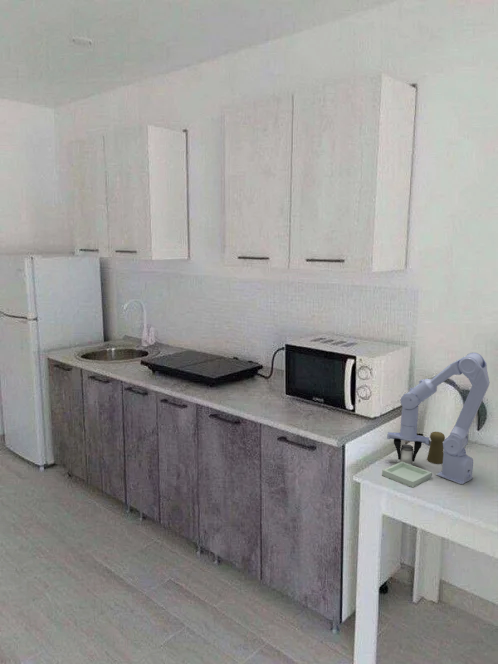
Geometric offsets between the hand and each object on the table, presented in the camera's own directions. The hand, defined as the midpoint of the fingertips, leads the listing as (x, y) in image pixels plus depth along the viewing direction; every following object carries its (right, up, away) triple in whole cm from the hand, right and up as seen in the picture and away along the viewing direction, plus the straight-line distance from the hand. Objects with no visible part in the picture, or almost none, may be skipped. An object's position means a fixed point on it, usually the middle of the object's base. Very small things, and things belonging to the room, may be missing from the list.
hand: (406, 459), depth 191 cm
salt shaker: (0, -2, 0) cm, 2 cm away
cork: (+12, -2, +4) cm, 13 cm away
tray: (-3, -4, -10) cm, 11 cm away
